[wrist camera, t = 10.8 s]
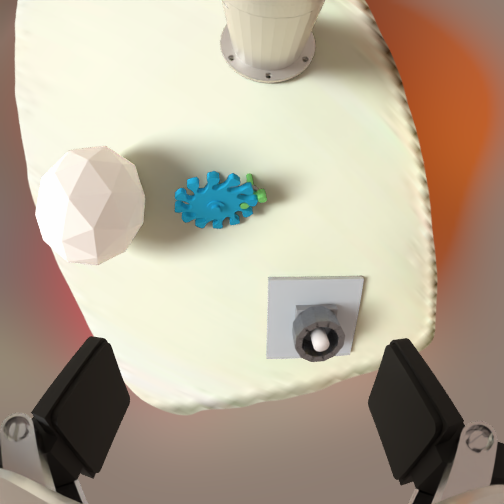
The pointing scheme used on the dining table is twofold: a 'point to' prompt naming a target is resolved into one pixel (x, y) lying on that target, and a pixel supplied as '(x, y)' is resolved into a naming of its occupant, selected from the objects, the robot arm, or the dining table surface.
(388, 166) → the dining table surface
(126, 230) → the geometric sphere
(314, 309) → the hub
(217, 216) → the gear
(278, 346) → the shaft stand
